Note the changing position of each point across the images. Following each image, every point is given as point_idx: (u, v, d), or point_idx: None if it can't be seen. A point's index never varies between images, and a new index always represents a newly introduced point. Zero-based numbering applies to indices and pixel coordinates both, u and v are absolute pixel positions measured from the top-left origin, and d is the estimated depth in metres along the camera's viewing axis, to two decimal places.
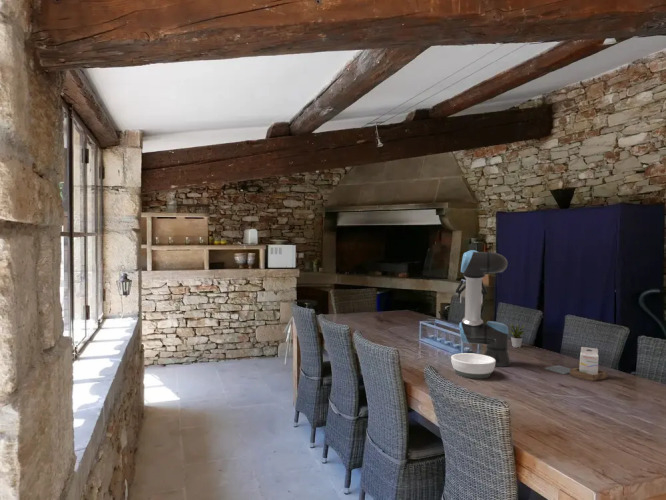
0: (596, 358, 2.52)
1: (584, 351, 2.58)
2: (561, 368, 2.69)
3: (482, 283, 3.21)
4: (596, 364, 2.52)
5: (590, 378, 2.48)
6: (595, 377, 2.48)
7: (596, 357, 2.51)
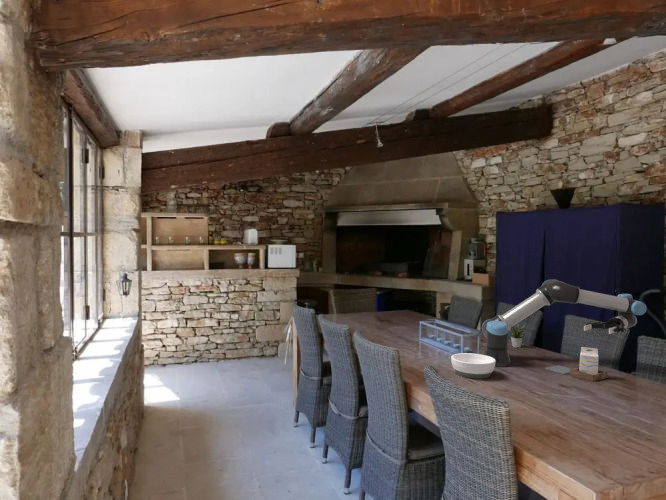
0: (596, 358, 2.51)
1: (584, 351, 2.58)
2: (561, 368, 2.69)
3: (623, 324, 2.67)
4: (596, 364, 2.52)
5: (590, 378, 2.48)
6: (595, 377, 2.48)
7: (596, 357, 2.51)
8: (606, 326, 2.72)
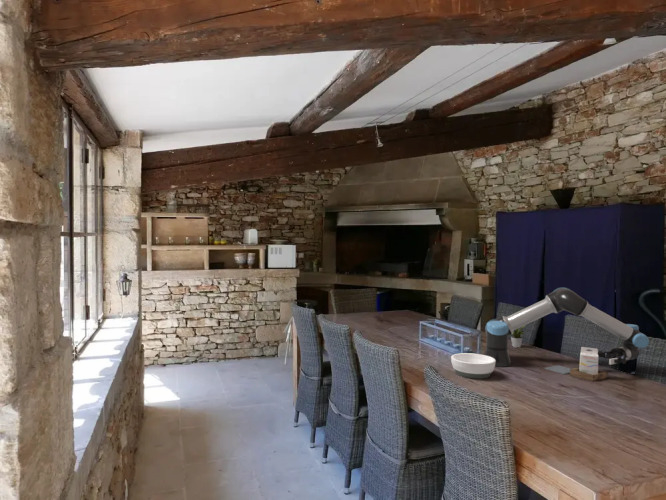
0: (596, 358, 2.51)
1: (584, 351, 2.58)
2: (561, 368, 2.69)
3: (626, 356, 2.59)
4: (596, 364, 2.52)
5: (590, 378, 2.48)
6: (595, 377, 2.48)
7: (596, 357, 2.51)
8: (608, 356, 2.65)
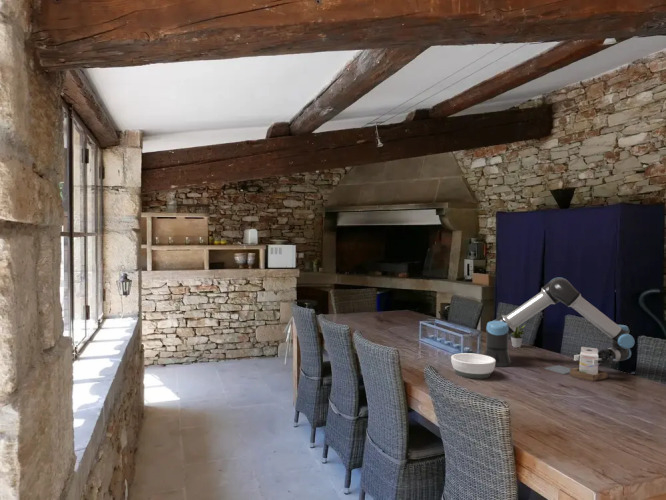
0: (596, 358, 2.51)
1: (584, 351, 2.58)
2: (561, 368, 2.69)
3: (613, 357, 2.55)
4: None
5: (590, 378, 2.48)
6: (595, 377, 2.48)
7: (596, 357, 2.51)
8: None
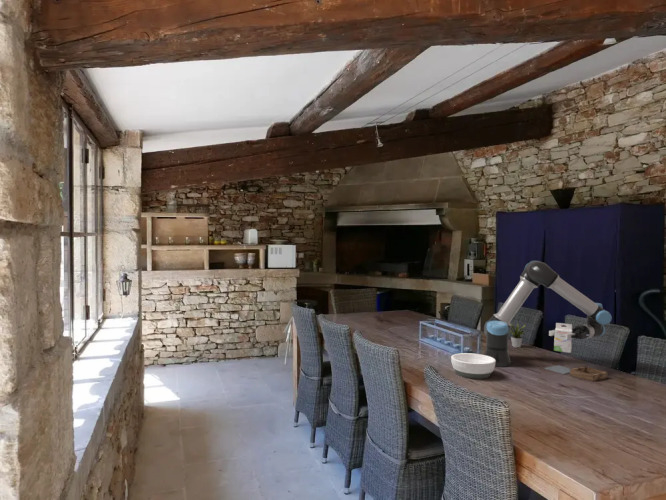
0: (570, 333, 2.62)
1: (559, 327, 2.69)
2: (561, 368, 2.69)
3: (586, 332, 2.66)
4: (570, 339, 2.62)
5: (590, 378, 2.48)
6: (595, 377, 2.48)
7: (570, 332, 2.62)
8: None
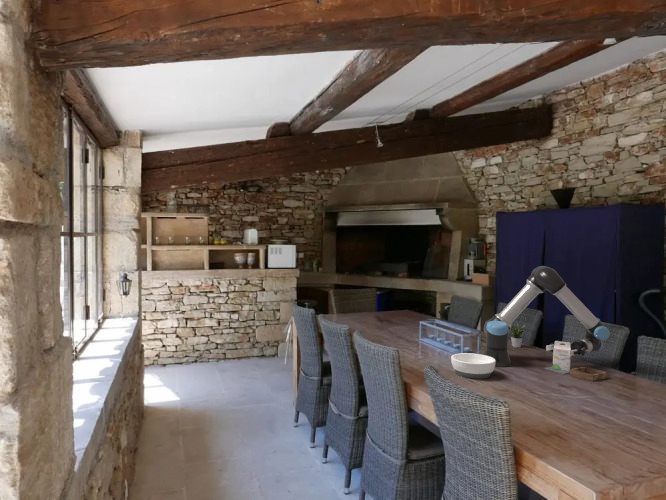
0: None
1: (557, 345, 2.69)
2: None
3: (586, 348, 2.67)
4: (568, 357, 2.63)
5: (590, 378, 2.48)
6: (595, 377, 2.48)
7: None
8: None
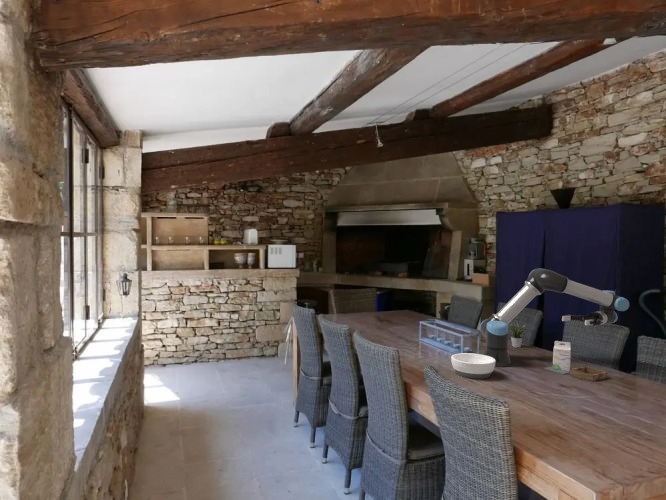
0: (568, 351, 2.63)
1: (557, 345, 2.69)
2: None
3: (601, 318, 2.73)
4: (568, 357, 2.63)
5: (590, 378, 2.48)
6: (595, 377, 2.48)
7: (568, 351, 2.63)
8: (585, 319, 2.78)
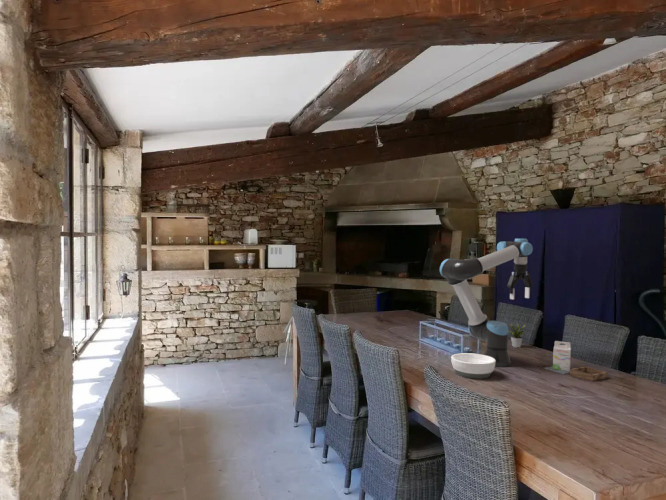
0: (568, 351, 2.63)
1: (557, 345, 2.69)
2: None
3: (511, 274, 2.96)
4: (568, 357, 2.63)
5: (590, 378, 2.48)
6: (595, 377, 2.48)
7: (568, 351, 2.63)
8: (521, 278, 2.99)
